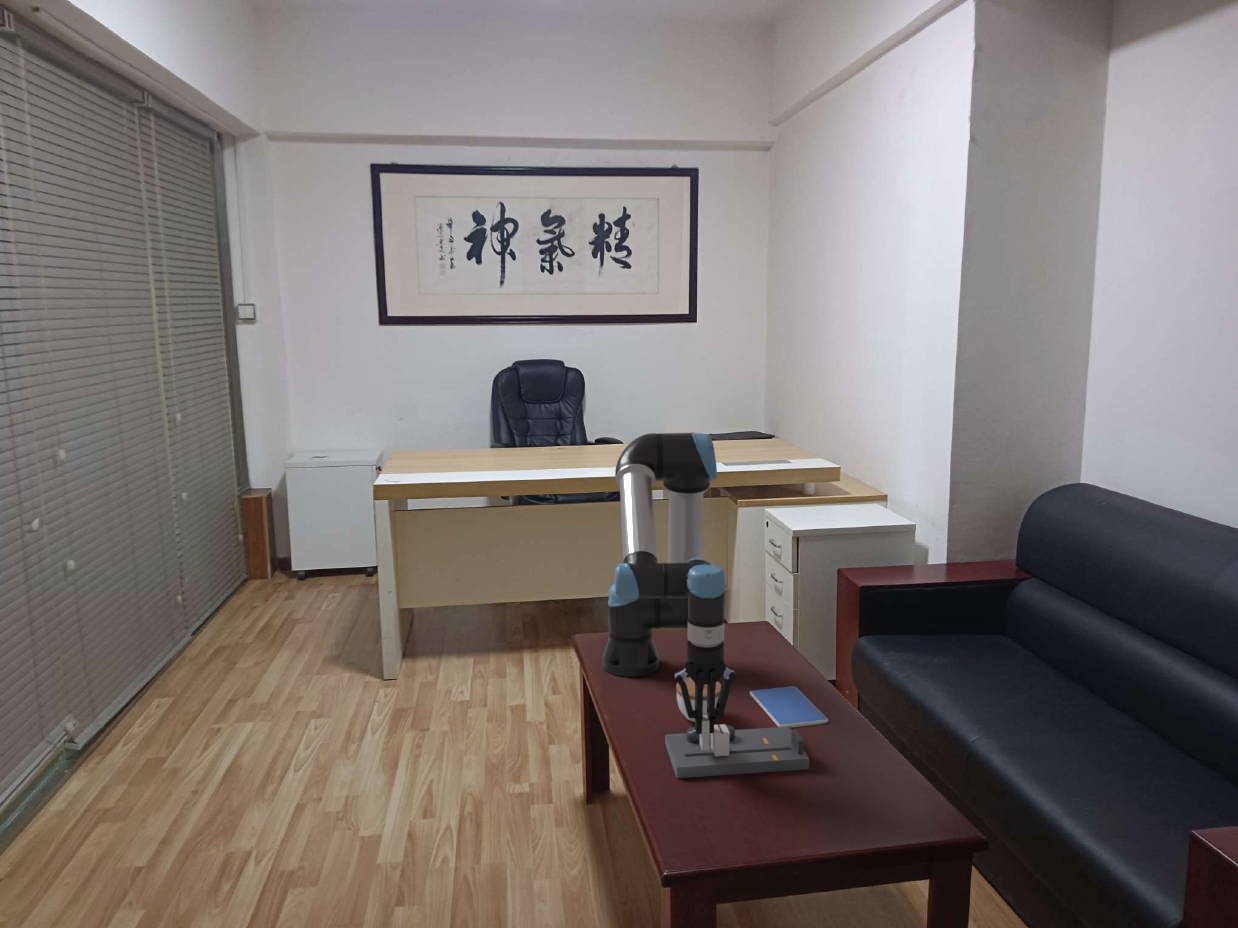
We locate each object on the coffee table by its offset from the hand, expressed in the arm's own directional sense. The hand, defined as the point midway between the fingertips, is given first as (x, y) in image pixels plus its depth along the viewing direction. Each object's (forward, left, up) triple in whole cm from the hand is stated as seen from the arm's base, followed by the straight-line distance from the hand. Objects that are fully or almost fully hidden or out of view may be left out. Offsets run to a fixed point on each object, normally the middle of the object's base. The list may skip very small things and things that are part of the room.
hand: (704, 746), depth 188 cm
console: (-2, +7, -4) cm, 9 cm away
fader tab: (0, +3, -1) cm, 4 cm away
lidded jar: (-21, +3, -4) cm, 22 cm away
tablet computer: (-23, +26, -5) cm, 35 cm away
